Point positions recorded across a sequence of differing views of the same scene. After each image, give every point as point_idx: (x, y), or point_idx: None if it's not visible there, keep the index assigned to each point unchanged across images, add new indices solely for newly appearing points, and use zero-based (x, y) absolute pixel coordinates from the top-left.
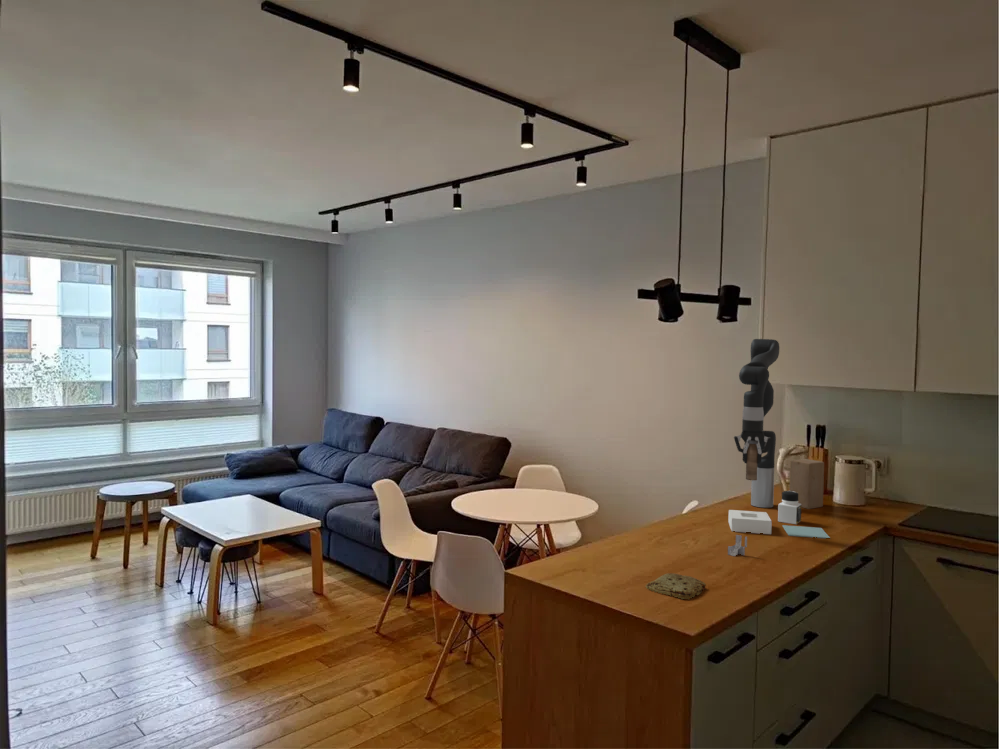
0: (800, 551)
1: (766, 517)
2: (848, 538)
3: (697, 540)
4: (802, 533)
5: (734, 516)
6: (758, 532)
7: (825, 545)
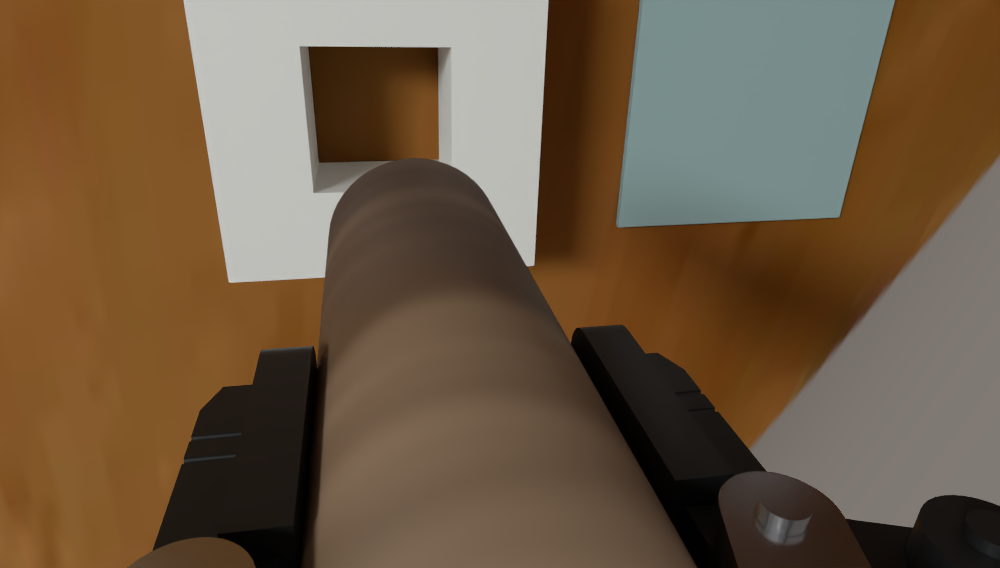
0: None
1: (515, 161)
2: (943, 168)
3: (48, 514)
4: (714, 169)
5: (247, 216)
6: None
7: (751, 355)
